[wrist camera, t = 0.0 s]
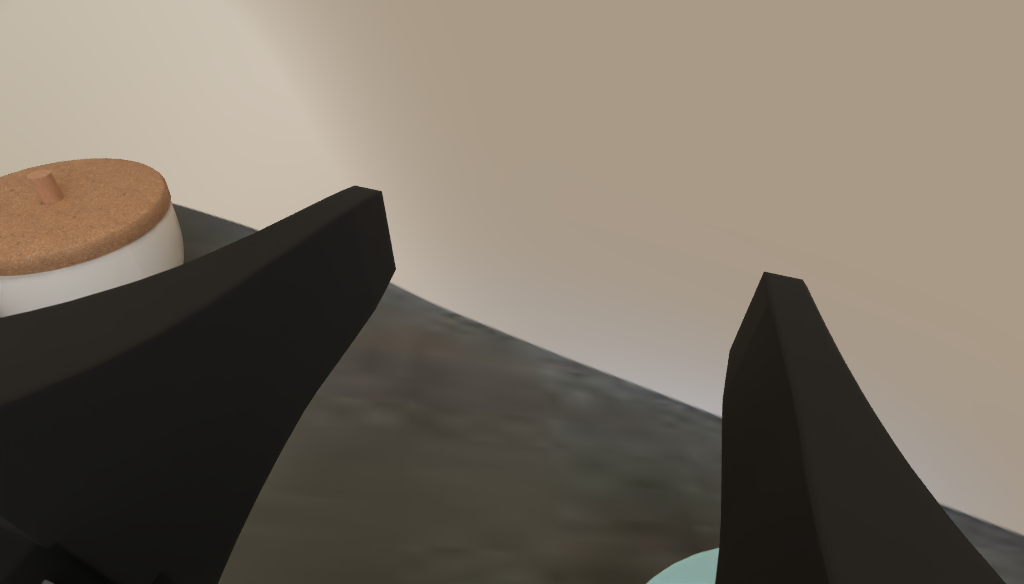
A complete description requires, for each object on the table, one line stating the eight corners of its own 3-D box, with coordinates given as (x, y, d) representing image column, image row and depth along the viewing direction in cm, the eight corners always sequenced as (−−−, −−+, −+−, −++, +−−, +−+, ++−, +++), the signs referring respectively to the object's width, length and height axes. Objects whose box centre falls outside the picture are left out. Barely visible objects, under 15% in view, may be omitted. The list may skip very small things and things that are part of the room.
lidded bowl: (132, 244, 48) (73, 118, 41) (243, 288, 44) (199, 157, 37) (-34, 334, 39) (-147, 193, 32) (86, 400, 35) (-13, 255, 28)
